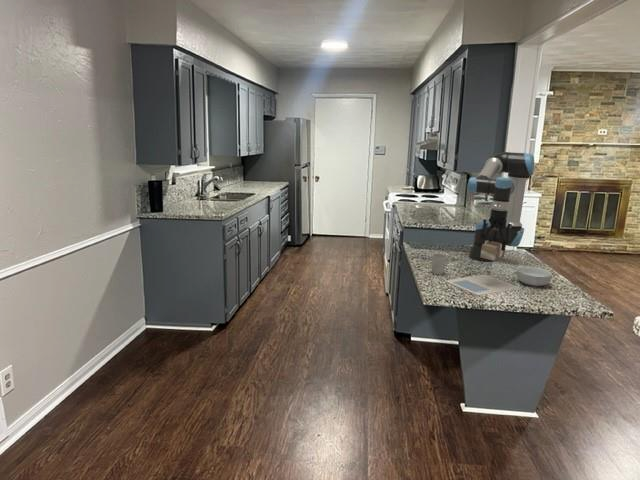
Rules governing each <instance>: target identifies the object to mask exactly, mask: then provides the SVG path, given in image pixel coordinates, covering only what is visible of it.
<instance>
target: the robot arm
mask: <svg viewBox="0 0 640 480" xmlns="http://www.w3.org/2000/svg"><path fill="white" fill-rule="evenodd" d="M534 172H535V157H534V155H533V154H531V153H527V152H510V151H503V152H499V153H495V154H493V155H491V156H490V157H488V158H487V160H486V161H485V163H484V166H483V168H482V170H481V171H480V172H479V173H478V175H477V176H476V177H475V176H473V177H472V176H471V177H469V179H468V181H467V190H468V192H471V193H477V194H488V195H493V197H492V201H491V210H490V214H489V215H490V217H489V218H484V219H483V220H480V221H478V222H477V223H476V225H475V228H474V229H475V230H474V238H473V245H472V247H471V249H470V251H469V253H468V258H469V259H472V260H475V261H481V262H493V261H495V260H489V259H485V258H481V257H480V255H481V249H482V244H486V243H489V242H492V241H493V242H498V243H502V244H500V249H499V256H498V257H502V253H503V251H504V250H505V251H506V247H507V246H508V247H515V248H516V247H518V246H520V243H521V242H522V239H523V235H524V232H525V228H524V227H523V224H522V222H521V218H522V210H523V204H524V199H525V192H526V185H527V181H528V180H529V179H530V178H531V176H533V175H534ZM498 173H504V174H505V173H506V174H507V177H502V176H501V177H500V176H499V177H496V175H497V174H498ZM495 177H496V179H494V178H495ZM502 258H503V257H502Z"/></svg>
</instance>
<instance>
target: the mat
mask: <svg viewBox="0 0 640 480" xmlns="http://www.w3.org/2000/svg"><path fill="white" fill-rule="evenodd" d="M443 282H444V283H446V284H450V285H451V286H453V287H456V288H458V289H461V290H464V291H465V292H468V293H470V294H472V295H475V296H476V297H481V296H483V295H488V294H493V293H499V292H504V291H505V292H506V291H509V290H515V289H520V286H518V285H514V284H511V283H509V282H507V281H503V280H502V279H498V278H496V277H494V276H490V275H488V274H485V273H484V274H478V275H471V276H465V277H460V278H459V277H458V278H454V279H453V278H452V279H448V280H443Z"/></svg>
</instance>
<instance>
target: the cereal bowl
mask: <svg viewBox="0 0 640 480" xmlns="http://www.w3.org/2000/svg"><path fill="white" fill-rule="evenodd" d="M515 277H516V278H517V279H518V281H520V282H521V283H523V284H525V285H528V286H531V287H541V286H545V285H548V284H549V283H550V282H551V280H552V278H553V273H552V272H550V271H549V270H546V269H543V268H539V267H532V266H519V267H517V268H516V272H515Z"/></svg>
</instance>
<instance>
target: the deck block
mask: <svg viewBox="0 0 640 480" xmlns="http://www.w3.org/2000/svg"><path fill="white" fill-rule="evenodd" d="M500 244H502V243H498V242H493V241H492V242H489V243H486V244H482V249H481V255H480V257H481V258H485V259H489V260H494V261H496V260H500V259H502V258H505V253H506V249H505V250H504V251H503V253H502V257H498V256H499V249H500Z"/></svg>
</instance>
